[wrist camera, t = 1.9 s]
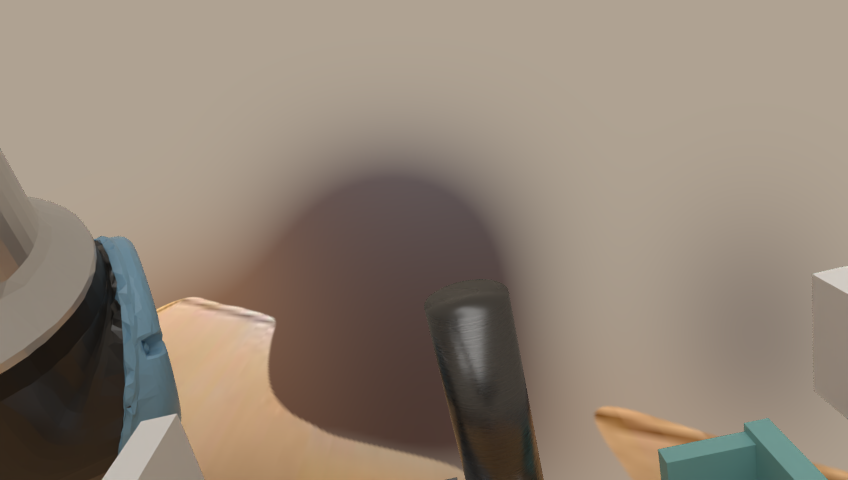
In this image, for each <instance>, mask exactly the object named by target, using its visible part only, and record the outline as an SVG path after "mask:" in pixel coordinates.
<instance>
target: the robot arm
mask: <svg viewBox="0 0 848 480" xmlns="http://www.w3.org/2000/svg"><path fill="white" fill-rule="evenodd" d="M812 311H813V312H812V313H813V368H814V370H813V372H814V391H815V392H816V393H817V394H818V395H819V396H821V397H822V398H823V399H824V400H826V401H827V402H828V403H829V404H830V405H831V406H833V407H834V408H835V409H836V410H837V411H839V412H840V413H841V414H842V415H843V416H844V417H846V418H847V419H848V266H845V267H841V268H836V269H832V270H827V271H823V272H818V273H814V274H812ZM0 480H205V479H204V477H203V474H202V472H201V469H200V467H199V465H198V462H197V460H196V458H195V455H194V453H193V450H192V448H191V446H190V443H189V441H188V438H187V436H186V434H185V431H184V429H183V426H182V424H181V409H180V403H179V398H178V392H177V388H176V383H175V379H174V375H173V371H172V367H171V363H170V359H169V356H168V352H167V349H166V346H165V343H164V342H163V341H162V332H161V328H160V325H159V320H158V315H157V312H156V308H155V305H154V301H153V298H152V295H151V291H150V288H149V285H148V282H147V279H146V276H145V273H144V270H143V267H142V264H141V262H140V259H139V257H138V254H137V251H136V249H135V247H134V245H133V244H132V242H131V241H130V240H128V239H127V238H125V237H119V236H118V237H111V238H108V237H104V236H100V237H99V238H97V239H93V237H92V235H91V233H90V231H89V230H88V229H87V227H86V226H85V225H84V223H83V222H82V221H81V220H80V219H79V217H77V215H76V214H74V213H73V212H71V211H69V210H68V209H67V208H64V207H62V206H60V205H58V204H55V203H53V202H50V201H46V200H43V199H38V198H32V197H27V196H26V194H25V192H24V190H23V189H22V187H21V185H20V183H19V182H18V180H17V178H16V176H15V174H14V172H13V171H12V169H11V167H10V165H9V163H8V162H7V160H6V158H5V156H4V154H3V153H2V151H1V149H0Z"/></svg>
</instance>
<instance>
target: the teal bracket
mask: <svg viewBox="0 0 848 480" xmlns="http://www.w3.org/2000/svg"><path fill="white" fill-rule="evenodd" d="M658 453H659V462H660V472H661V480H828V479H827V478H826V477H825V476H824V475H823V474H822V473H821V472H820V471H819V470H818V469H817V468H816V467H815V466H814V465H813V464H812V463H811V462H810V461H809V460H808V459H807V458H806V457H805V456H804V455H803V453H801V451H800V450H799V449H798V448H797V447H796V446H795V445H794V444H793V443H792V442H791V441H790V440H789V439H788V438H787V437H786V436H785V435H784V434H783V433H782V432H781V431H780V430H779V429H778V428H777V427H776V426H775V425H774V424H773V422H771V420H770V419H769V418H766V419H762V420H757V421H752V422H747V423H744V432H740V433H735V434H730V435H725V436H720V437H716V438H711V439H706V440H701V441H696V442H691V443H687V444H682V445H677V446H672V447H667V448H663V449H658Z"/></svg>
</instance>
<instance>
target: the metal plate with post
mask: <svg viewBox="0 0 848 480" xmlns="http://www.w3.org/2000/svg"><path fill="white" fill-rule="evenodd" d="M424 308H425V313H426V316H427V321H428V325H429V329H430V333H431V337H432V341H433V345H434V350H435V354H436V358H437V362H438V366H439V371H440V375H441V379H442V383H443V387H444V392H445V395H446V400H447V404H448V408H449V412H450V416H451V421H452V425H453V429H454V433H455V437H456V441H457V445H458V450H459V454H460V458H461V462H462V466H463V471H464V475H465V479H466V480H544V479H543V474H542V469H541V463H540V458H539V453H538V448H537V442H536V437H535V431H534V426H533V421H532V415H531V410H530V405H529V399H528V394H527V388H526V383H525V378H524V373H523V367H522V362H521V356H520V351H519V346H518V341H517V335H516V330H515V325H514V319H513V314H512V308H511V303H510V298H509V292H508V289H507V287H506V286H505V285H503V284H502V283H500V282H497V281H492V280H483V279H479V280H468V281H462V282H458V283H454V284H451V285H448V286H446V287H444V288H441V289H440V290H438V291H436V292H435V293H433V294H432V295H431V296H430V297H429V298H428V299H427V300H426V302H425V305H424Z"/></svg>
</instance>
